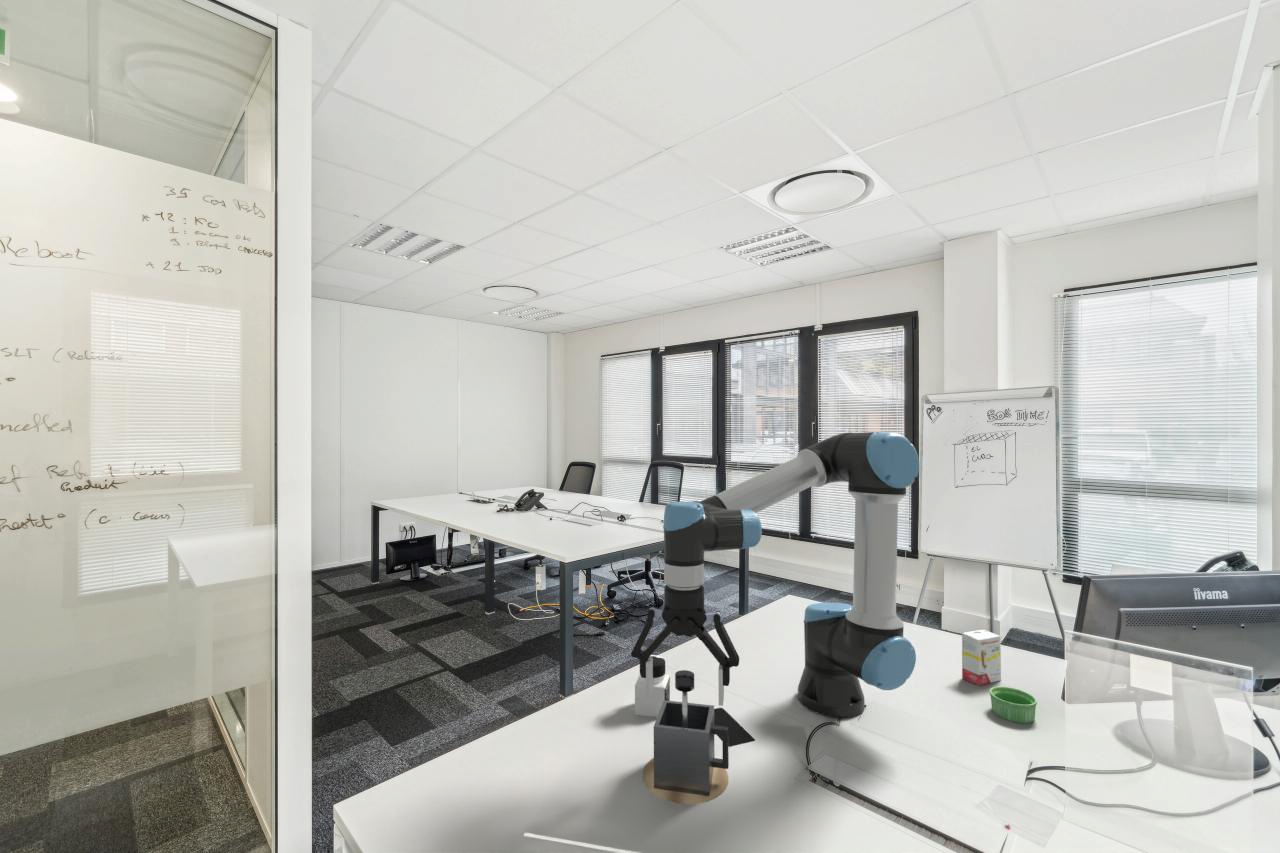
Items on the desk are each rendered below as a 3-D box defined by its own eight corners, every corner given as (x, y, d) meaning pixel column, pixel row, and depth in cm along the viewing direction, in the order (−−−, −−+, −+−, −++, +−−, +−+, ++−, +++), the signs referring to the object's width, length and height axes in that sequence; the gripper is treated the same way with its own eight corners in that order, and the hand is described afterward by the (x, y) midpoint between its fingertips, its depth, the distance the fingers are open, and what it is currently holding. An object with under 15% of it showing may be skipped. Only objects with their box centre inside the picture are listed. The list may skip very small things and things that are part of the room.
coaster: (731, 757, 106) (731, 755, 106) (725, 812, 91) (725, 810, 91) (652, 747, 110) (652, 745, 110) (633, 798, 94) (633, 796, 94)
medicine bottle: (665, 719, 121) (665, 665, 121) (634, 716, 122) (634, 663, 123) (670, 704, 128) (669, 653, 128) (640, 701, 129) (640, 651, 130)
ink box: (978, 686, 136) (977, 639, 136) (961, 678, 141) (960, 633, 141) (1002, 680, 139) (1001, 635, 139) (984, 673, 144) (983, 628, 144)
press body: (730, 764, 103) (729, 707, 104) (726, 798, 94) (726, 735, 94) (663, 756, 106) (663, 700, 107) (653, 788, 97) (653, 726, 97)
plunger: (705, 757, 103) (704, 668, 103) (701, 779, 96) (700, 684, 97) (670, 753, 104) (669, 665, 105) (664, 774, 98) (663, 680, 98)
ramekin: (980, 707, 126) (979, 688, 126) (1012, 703, 128) (1011, 684, 128) (1014, 727, 117) (1013, 706, 117) (1047, 722, 119) (1047, 702, 119)
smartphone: (722, 706, 126) (757, 740, 112) (722, 710, 126) (757, 744, 112) (695, 711, 123) (727, 747, 109) (695, 715, 123) (727, 751, 109)
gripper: (751, 583, 102) (752, 695, 101) (625, 576, 108) (625, 682, 107) (751, 594, 95) (752, 715, 94) (615, 586, 100) (615, 700, 100)
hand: (684, 698), depth 101 cm, fingers open, 13 cm apart
